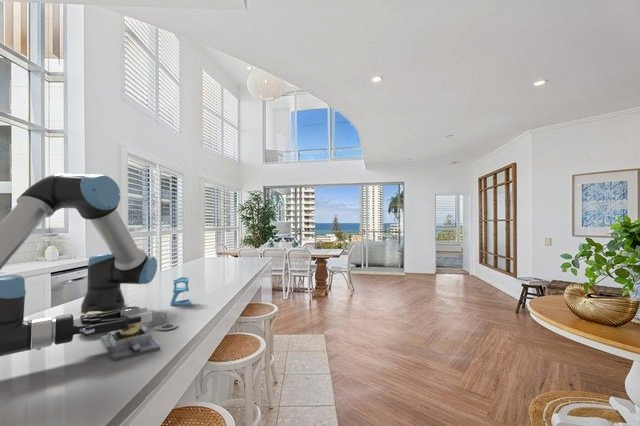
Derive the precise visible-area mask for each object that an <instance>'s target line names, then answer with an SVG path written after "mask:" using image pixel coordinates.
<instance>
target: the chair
mask: <svg viewBox="0 0 640 426" xmlns="http://www.w3.org/2000/svg"><path fill="white" fill-rule="evenodd" d="M189 281H190V279H189V277H182V276H181V277H178V278H177V279H174V280H173V285H174V287H173V289H172V293H173V296H172V298H171V300H170V304H169V305H174V306H191V299H190V298H188V299H187V298H186V299H180V300H176V299H177V298H178V297H179V295H180V294H182V293H184V292H185V293H186V292H189V291H190V288H189V286H188V285H189ZM180 283H182V284H185V286H177V285H178V284H180Z"/></svg>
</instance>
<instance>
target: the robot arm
mask: <svg viewBox="0 0 640 426" xmlns="http://www.w3.org/2000/svg"><path fill="white" fill-rule="evenodd" d="M120 201H121V190H120V187H119V185H118V184H117V182H116V181H115V180H114V179H113V178H111V177H110V176H107V175H104V174H98V173H89V174H87V173H86V174H79V173H78V174H77V173H55V174H51V175H49V176H46V177H44V178H42V179H39V180H38V181H37V182H35V183H33V184H32V185H31V186H30V187H28V188H26V190H25V191H24V192H23V193H22V194H20V196H18V197H17V199H16V205H15V207H13V208H12V209H11V211H10V212H9V213H8V214H7V215H6V216H5V217H4V218H2V220H1V221H0V271H1V270H2V269H3V268H4V267H5V265H6V264H8V262H9V260H11V258H12V257H14V255H15V254H16V253H17V251H18V250H19V249H20V248H21V247H22V245H24V243H25V242H26V241H27V240H28V239H29V237H30V236H31V235H32V234H33V232H34V231H35V230H36V229H37V228H38V227H39V225H40V224H41V223H42V222H43V221H44V220H45V219H46V218H49V217H52V216H54V214H55V213H56V211H58V210H62V209H75V210H77V212H78V213H79V215H80V216H81V217H82V218H83V219H84V220H88V221H90V222H91V224H92V225H93V227H94V228H95V230H96V231H97V233H98V234H99V236H100V237H101V239H102V240H103V242H104V243H105V245H106V247H107V248H108V249H109V251H110V253H100V254H95V255H94V254H93V255H92V256H90V257H89V258H88V261H87V262H88V263H87V264H88V265H87V286H86V287H87V288H86V289H87V290H86V292H85V295H84V298H83V299H82V300H83V301H82V302H81V306H80V310H81V312H83V313H87V312H92V311H100V312H101V313H95V314H89V315H84V314H82V315H80V317H79V318H78V319H74V315H73V314H72V313H68V314H61V315H60V314H59V315H57V316H55V317H54V318H53V316H49V317H42V318H36V319H30V320H24V319H25V302H26V301H25V300H26V291H27V290H26V283H25V278H24V276H22V275H18V274H15V275H14V274H10V275H0V357H3V356H8V355H13V354H19V353H22V352H27V351H31V350H36V351H40V350H41V349H43V348H48V347H50V346H52V345H53V344H54V345H62V344H67V343H72V341H73V339H74V335H84V337H86V338H87V337H91V336H95V335H98V334H99V335H100V334H105V333H109V332H111V331H116V330H121V329H128V325H133V324H139V325H140V324H143V323H149V321H152V322H153V318H152V317H153V311H148V307H147V306H145V307H139V308H140V311H139V314H136V315H130V316H128V317H125V318H120V316H121V309H123V308H124V306H125V304H126V302H125V297H124V294H123V292H122V289H121V288H122V287H121V284H122V285H123V284H125V285H126V284H127V285H129V284H131V285H147V284H150V283H151V282H152V281H153V280H154V278H155V276H156V274H157V270H158V260H157V259H156V257H155V256H148V255H147V253H146V251H145V250H144V249H142V248H140V247H138V246H137V244H136V242H135V241H134V238H133V237H132V235H131V233H130V231H129V229H128V228H127V226H126V224H125V223H124V221H123V218H122V217H121V215H120V214H119V211H118V210H117V209H118V207H119V204H120ZM122 323H123V324H122Z"/></svg>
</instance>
